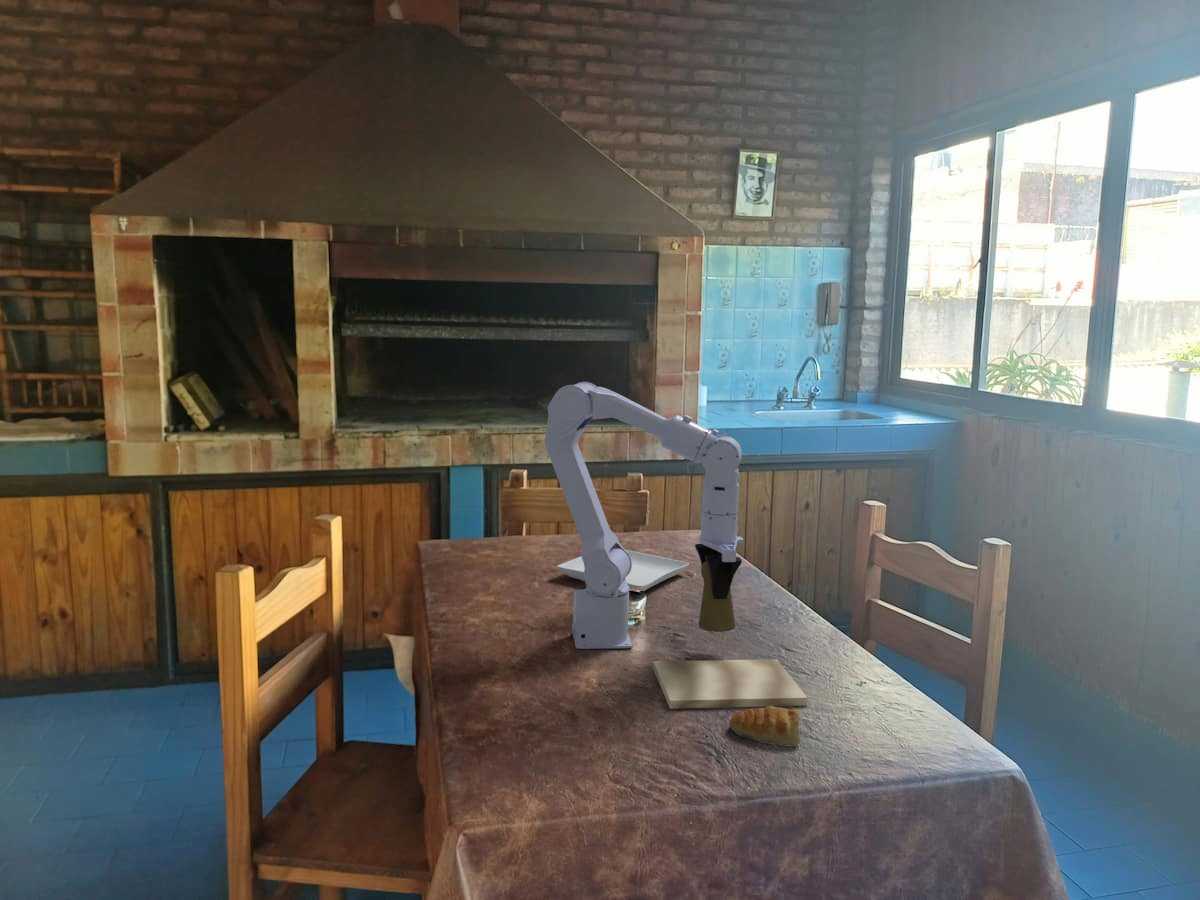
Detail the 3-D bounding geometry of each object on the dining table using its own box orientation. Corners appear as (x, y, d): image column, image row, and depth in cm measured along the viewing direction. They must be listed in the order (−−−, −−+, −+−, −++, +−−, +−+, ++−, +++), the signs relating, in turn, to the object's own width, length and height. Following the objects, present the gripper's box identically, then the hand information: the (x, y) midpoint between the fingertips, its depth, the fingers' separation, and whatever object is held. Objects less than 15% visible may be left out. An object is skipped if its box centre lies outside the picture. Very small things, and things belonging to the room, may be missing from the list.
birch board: (670, 708, 121) (670, 700, 120) (653, 668, 134) (653, 661, 134) (806, 705, 123) (807, 697, 123) (776, 666, 137) (776, 659, 136)
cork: (695, 620, 143) (695, 556, 142) (731, 619, 144) (731, 555, 142) (702, 632, 137) (702, 565, 136) (739, 631, 138) (739, 564, 136)
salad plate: (690, 576, 185) (691, 561, 185) (642, 601, 167) (642, 584, 167) (607, 559, 196) (608, 544, 196) (554, 581, 178) (554, 565, 178)
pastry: (729, 743, 112) (730, 715, 111) (729, 720, 118) (731, 693, 118) (802, 750, 110) (804, 722, 110) (798, 726, 117) (800, 700, 116)
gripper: (757, 522, 131) (752, 607, 133) (732, 501, 145) (728, 579, 147) (712, 522, 130) (707, 607, 132) (691, 501, 144) (687, 579, 146)
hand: (715, 592), depth 140 cm, fingers closed on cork, 5 cm apart
